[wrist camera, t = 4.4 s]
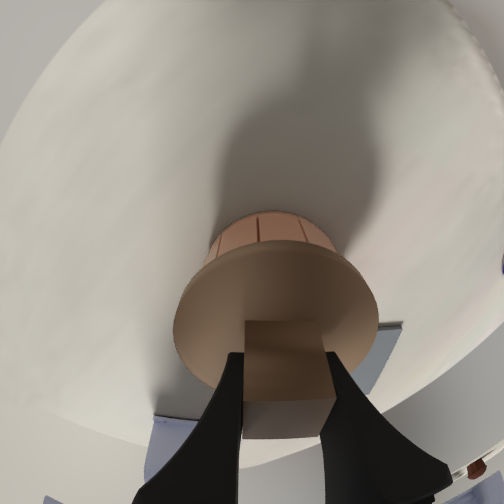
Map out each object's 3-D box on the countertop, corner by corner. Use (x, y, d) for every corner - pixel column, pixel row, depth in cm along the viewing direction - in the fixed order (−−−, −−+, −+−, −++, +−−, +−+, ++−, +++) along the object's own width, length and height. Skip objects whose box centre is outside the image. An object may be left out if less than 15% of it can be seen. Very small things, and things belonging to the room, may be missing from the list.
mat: (279, 398, 24) (279, 401, 23) (291, 330, 20) (292, 334, 19) (368, 391, 24) (369, 394, 24) (400, 325, 20) (402, 328, 19)
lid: (189, 384, 15) (176, 457, 11) (166, 236, 11) (117, 317, 6) (345, 384, 15) (363, 453, 11) (393, 244, 11) (456, 317, 7)
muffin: (487, 453, 69) (492, 468, 60) (476, 462, 74) (480, 476, 65) (471, 462, 69) (476, 477, 60) (460, 470, 74) (465, 485, 65)
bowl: (209, 320, 19) (201, 370, 15) (203, 209, 15) (187, 244, 11) (323, 322, 19) (337, 370, 15) (345, 214, 16) (374, 250, 12)
